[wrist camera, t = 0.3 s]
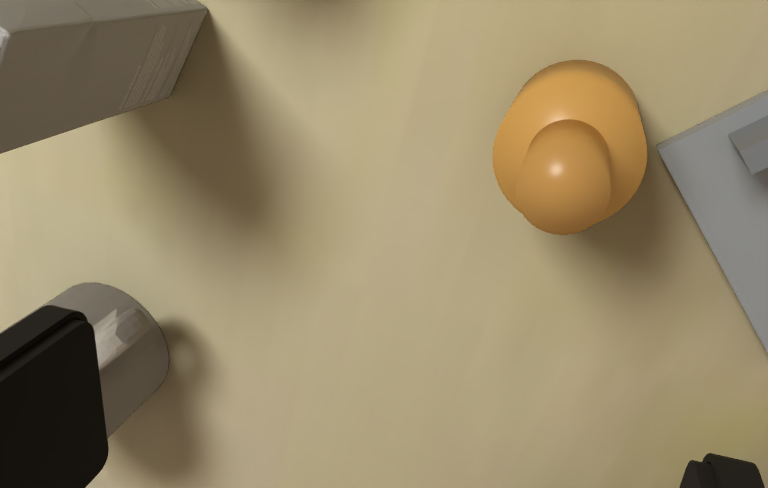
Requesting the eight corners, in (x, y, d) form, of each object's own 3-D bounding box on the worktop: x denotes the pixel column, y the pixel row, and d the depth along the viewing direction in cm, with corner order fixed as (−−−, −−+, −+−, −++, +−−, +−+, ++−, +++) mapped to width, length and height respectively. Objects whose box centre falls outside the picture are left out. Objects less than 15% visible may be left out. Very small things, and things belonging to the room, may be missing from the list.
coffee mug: (103, 409, 53) (6, 500, 45) (31, 306, 51) (-86, 380, 42) (227, 366, 48) (144, 460, 39) (152, 247, 45) (45, 319, 37)
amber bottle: (601, 34, 32) (602, 70, 23) (662, 146, 33) (687, 226, 24) (487, 101, 35) (444, 160, 25) (547, 203, 36) (528, 294, 27)
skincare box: (64, 24, 40) (-216, 63, 27) (99, -88, 37) (-201, -110, 23) (176, 105, 40) (-45, 186, 27) (222, 0, 37) (-4, 32, 23)
